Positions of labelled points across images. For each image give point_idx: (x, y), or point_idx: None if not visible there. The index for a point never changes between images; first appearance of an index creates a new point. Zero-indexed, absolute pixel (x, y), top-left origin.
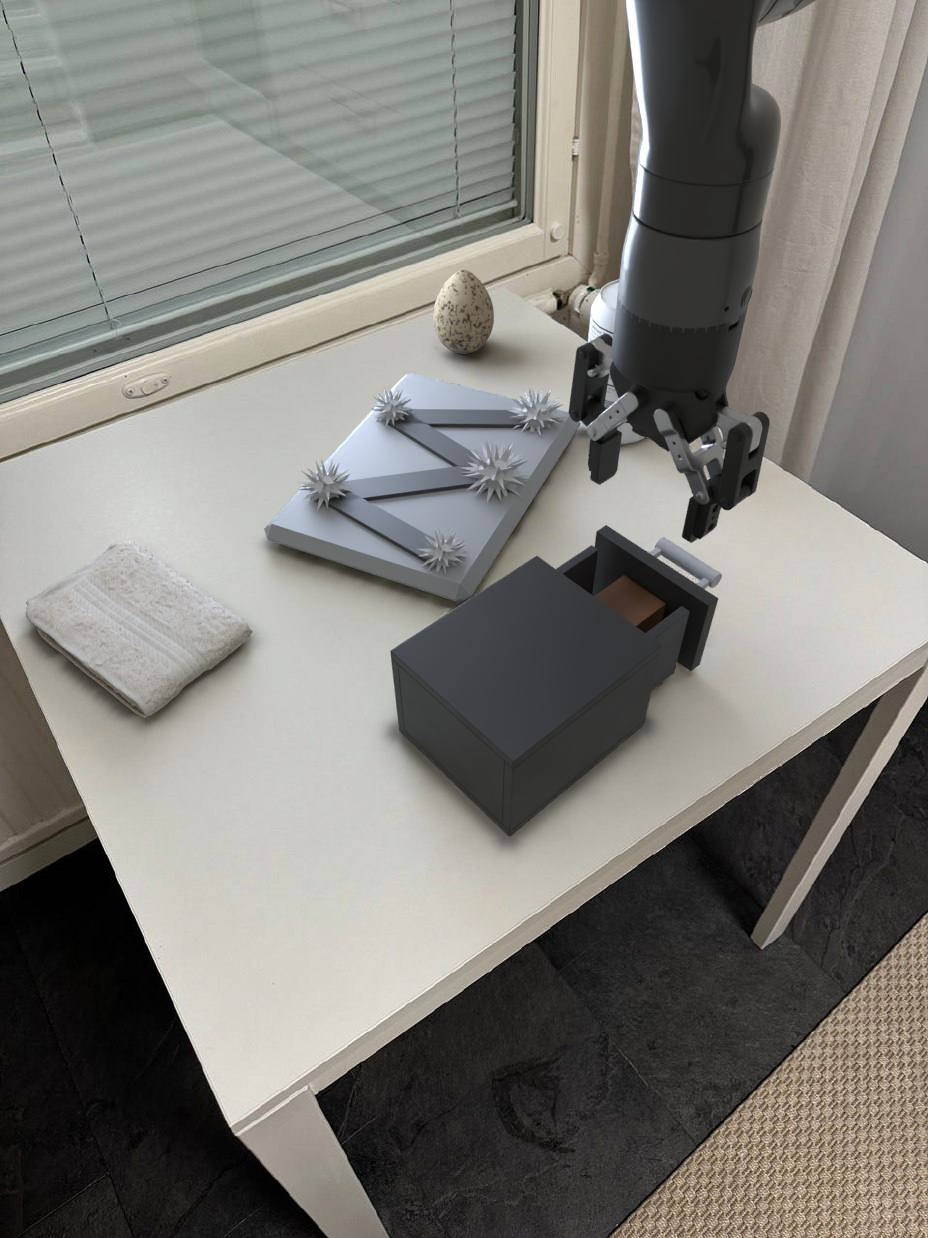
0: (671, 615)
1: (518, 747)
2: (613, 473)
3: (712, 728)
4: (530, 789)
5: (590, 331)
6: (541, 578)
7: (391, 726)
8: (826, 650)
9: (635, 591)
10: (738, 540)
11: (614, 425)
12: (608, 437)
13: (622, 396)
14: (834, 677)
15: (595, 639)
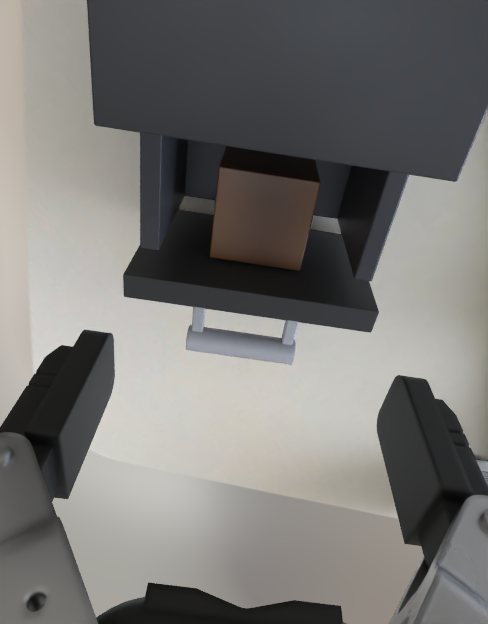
0: (156, 220)
1: None
2: (380, 419)
3: (88, 146)
4: None
5: None
6: (414, 125)
7: None
8: (81, 331)
9: (263, 251)
10: (249, 410)
11: (419, 614)
12: (433, 519)
13: None
14: (50, 304)
15: (204, 34)
